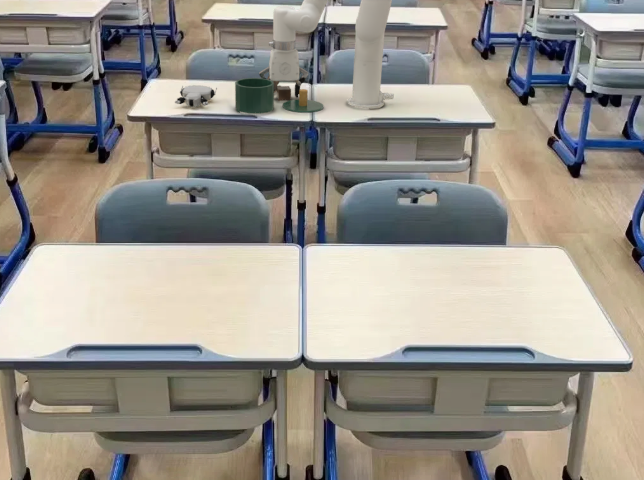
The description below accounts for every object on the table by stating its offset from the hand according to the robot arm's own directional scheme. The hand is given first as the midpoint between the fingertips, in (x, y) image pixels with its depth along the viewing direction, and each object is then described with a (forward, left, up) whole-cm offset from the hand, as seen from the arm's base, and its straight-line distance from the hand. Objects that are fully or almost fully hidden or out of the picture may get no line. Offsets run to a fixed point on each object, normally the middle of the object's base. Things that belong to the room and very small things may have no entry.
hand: (283, 96), depth 282 cm
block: (0, 0, -1) cm, 1 cm away
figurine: (+1, -14, -1) cm, 15 cm away
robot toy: (+30, +2, -1) cm, 30 cm away
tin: (+11, +11, -1) cm, 16 cm away
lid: (-5, +11, -1) cm, 12 cm away
